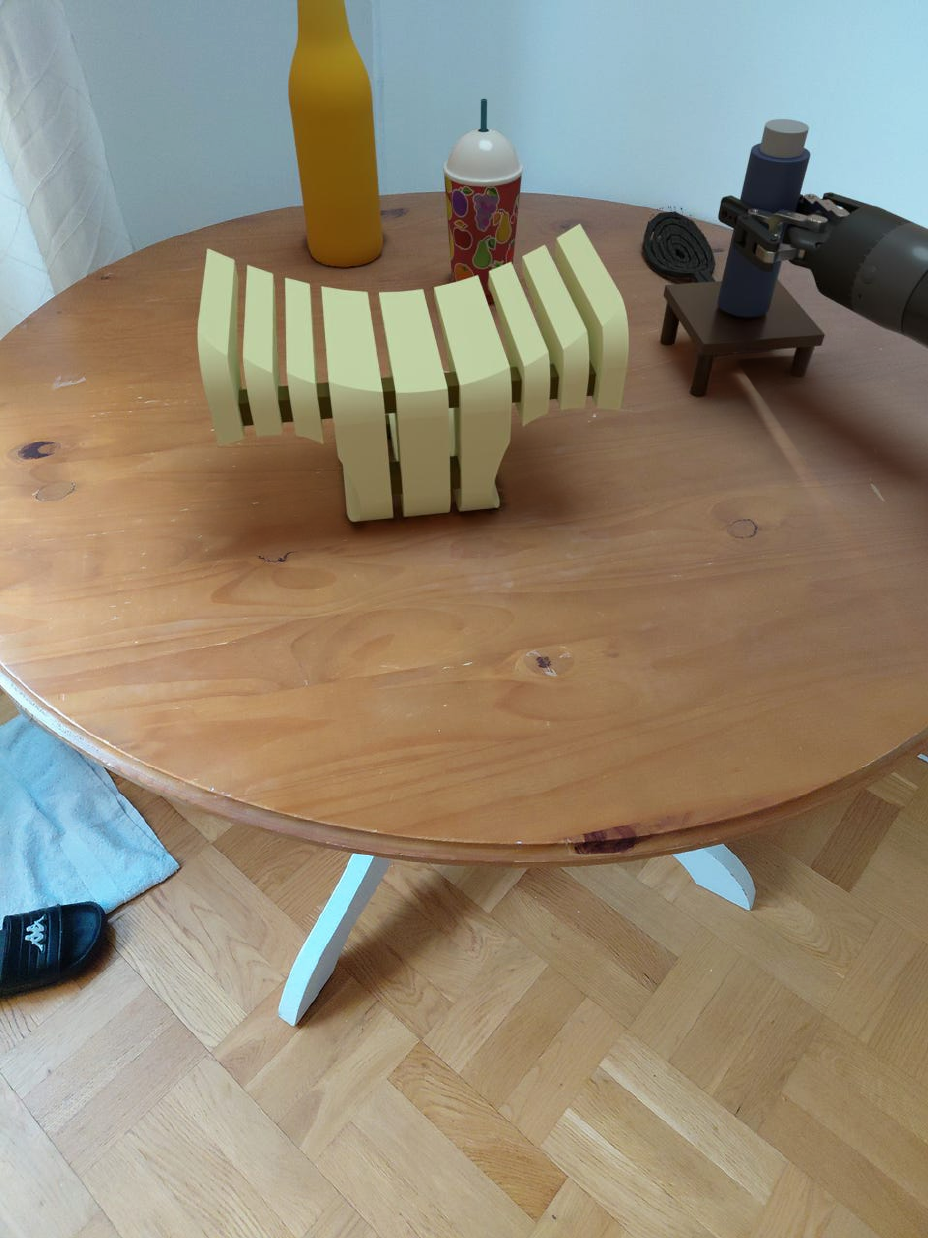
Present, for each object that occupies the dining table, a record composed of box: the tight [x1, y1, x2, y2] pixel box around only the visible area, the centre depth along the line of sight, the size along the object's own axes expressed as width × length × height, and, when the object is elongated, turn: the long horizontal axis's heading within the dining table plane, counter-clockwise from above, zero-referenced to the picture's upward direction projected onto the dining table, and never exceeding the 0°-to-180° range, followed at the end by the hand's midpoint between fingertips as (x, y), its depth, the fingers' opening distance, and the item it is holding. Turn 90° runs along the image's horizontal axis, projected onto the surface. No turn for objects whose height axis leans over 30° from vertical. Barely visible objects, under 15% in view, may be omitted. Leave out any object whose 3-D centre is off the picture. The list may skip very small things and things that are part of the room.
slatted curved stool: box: [197, 223, 630, 523], centre depth 70 cm, size 30×16×18 cm, turn 98°
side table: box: [659, 278, 826, 398], centre depth 87 cm, size 12×12×6 cm
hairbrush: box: [641, 205, 717, 283], centre depth 100 cm, size 8×4×25 cm
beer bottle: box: [287, 0, 384, 268], centre depth 96 cm, size 9×9×29 cm
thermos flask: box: [718, 118, 811, 317], centre depth 79 cm, size 5×5×16 cm
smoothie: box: [442, 98, 524, 304], centre depth 92 cm, size 8×8×20 cm
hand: (746, 201), depth 79 cm, fingers closed on thermos flask, 5 cm apart
